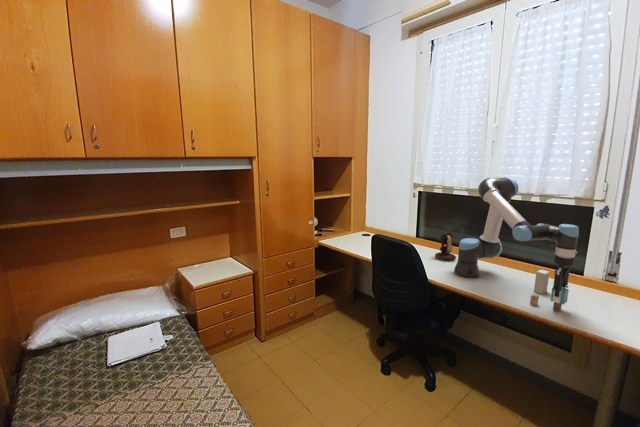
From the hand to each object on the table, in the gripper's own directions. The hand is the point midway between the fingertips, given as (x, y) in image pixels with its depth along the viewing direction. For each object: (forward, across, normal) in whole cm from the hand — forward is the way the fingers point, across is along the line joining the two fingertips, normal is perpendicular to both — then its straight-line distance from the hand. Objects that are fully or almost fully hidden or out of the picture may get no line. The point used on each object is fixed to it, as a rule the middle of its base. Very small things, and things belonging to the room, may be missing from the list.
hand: (558, 300), depth 146 cm
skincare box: (+5, +18, +13) cm, 23 cm away
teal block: (0, 0, 0) cm, 0 cm away
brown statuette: (+5, +27, +78) cm, 83 cm away
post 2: (+5, 0, 0) cm, 5 cm away
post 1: (+5, -3, +9) cm, 11 cm away
